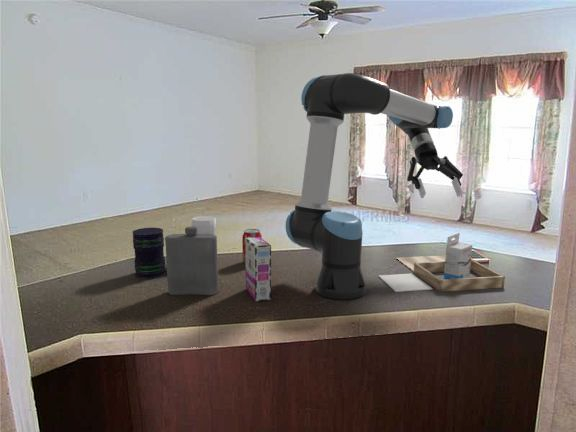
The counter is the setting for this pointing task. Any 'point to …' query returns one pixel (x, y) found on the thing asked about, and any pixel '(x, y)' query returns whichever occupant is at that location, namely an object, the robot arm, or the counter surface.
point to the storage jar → (149, 253)
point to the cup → (204, 224)
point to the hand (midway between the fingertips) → (442, 195)
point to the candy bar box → (258, 268)
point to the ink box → (457, 258)
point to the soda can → (248, 234)
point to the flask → (192, 263)
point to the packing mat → (405, 282)
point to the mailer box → (437, 264)
